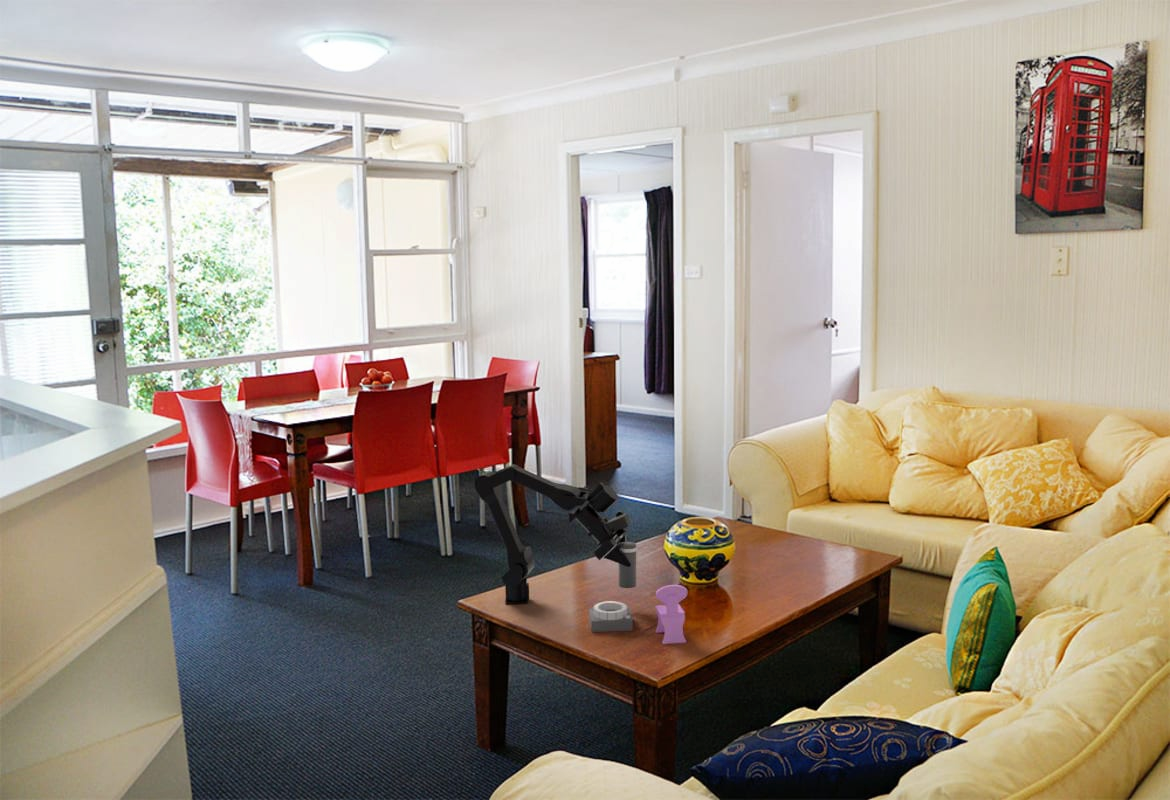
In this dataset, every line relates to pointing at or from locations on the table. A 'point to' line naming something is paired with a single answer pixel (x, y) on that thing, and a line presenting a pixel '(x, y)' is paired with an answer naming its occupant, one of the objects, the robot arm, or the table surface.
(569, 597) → the table surface
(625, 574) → the grey domed cylinder
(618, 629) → the ringed square flange
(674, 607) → the toy chair
